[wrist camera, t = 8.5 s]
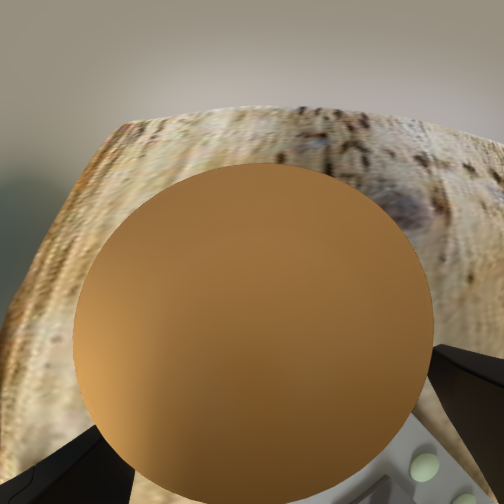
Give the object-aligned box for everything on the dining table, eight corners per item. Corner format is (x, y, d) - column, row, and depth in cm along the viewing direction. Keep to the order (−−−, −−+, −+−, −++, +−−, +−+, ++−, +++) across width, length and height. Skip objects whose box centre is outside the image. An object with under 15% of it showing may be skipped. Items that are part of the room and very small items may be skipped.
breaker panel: (486, 501, 9) (519, 510, 5) (386, 587, 7) (401, 614, 3) (296, 297, 19) (295, 267, 16) (187, 379, 18) (159, 368, 14)
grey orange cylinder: (340, 413, 14) (489, 392, 2) (259, 444, 14) (114, 523, 2) (309, 340, 17) (323, 133, 5) (232, 369, 16) (73, 228, 5)
